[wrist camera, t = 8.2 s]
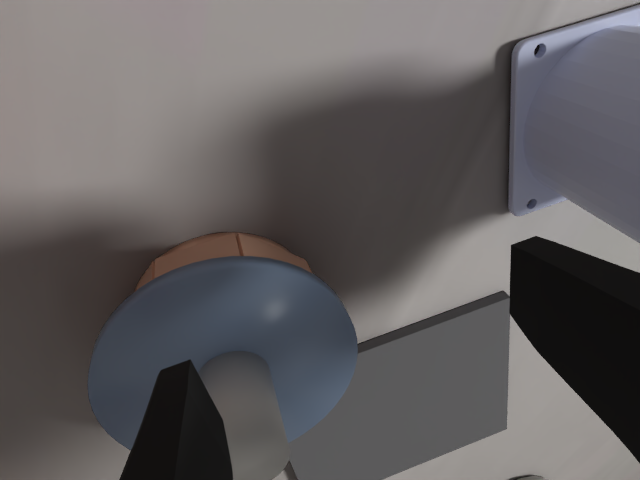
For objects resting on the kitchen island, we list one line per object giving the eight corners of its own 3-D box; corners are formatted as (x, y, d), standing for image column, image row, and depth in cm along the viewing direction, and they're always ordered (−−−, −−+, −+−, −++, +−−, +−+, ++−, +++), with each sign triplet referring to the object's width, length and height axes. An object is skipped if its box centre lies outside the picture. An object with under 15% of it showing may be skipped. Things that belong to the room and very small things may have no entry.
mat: (503, 290, 26) (510, 297, 25) (501, 421, 32) (506, 428, 32) (256, 381, 24) (258, 390, 24) (308, 499, 31) (310, 508, 30)
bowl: (289, 204, 20) (309, 246, 17) (327, 339, 24) (348, 389, 21) (94, 267, 19) (81, 323, 16) (172, 395, 23) (172, 456, 20)
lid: (367, 247, 18) (420, 323, 14) (337, 427, 22) (370, 518, 19) (68, 266, 15) (37, 369, 11) (109, 468, 20) (96, 584, 16)
